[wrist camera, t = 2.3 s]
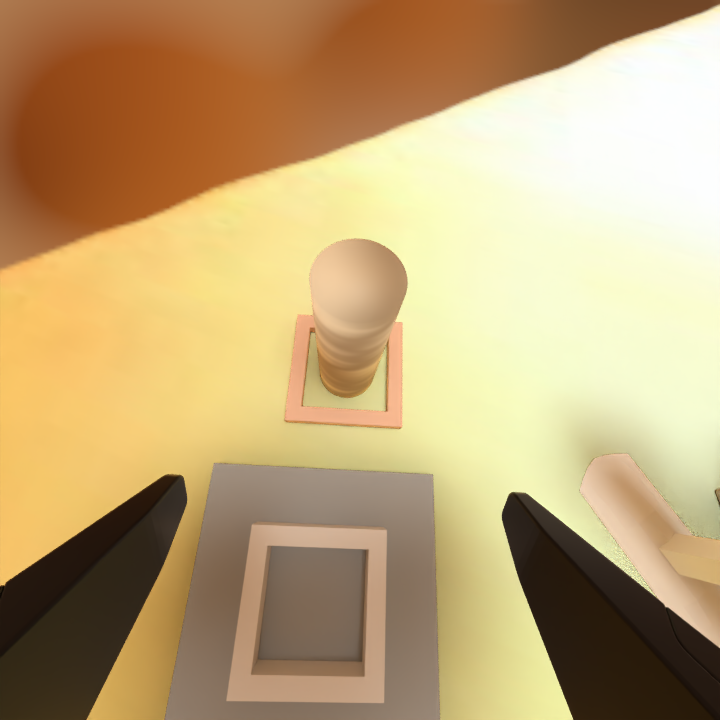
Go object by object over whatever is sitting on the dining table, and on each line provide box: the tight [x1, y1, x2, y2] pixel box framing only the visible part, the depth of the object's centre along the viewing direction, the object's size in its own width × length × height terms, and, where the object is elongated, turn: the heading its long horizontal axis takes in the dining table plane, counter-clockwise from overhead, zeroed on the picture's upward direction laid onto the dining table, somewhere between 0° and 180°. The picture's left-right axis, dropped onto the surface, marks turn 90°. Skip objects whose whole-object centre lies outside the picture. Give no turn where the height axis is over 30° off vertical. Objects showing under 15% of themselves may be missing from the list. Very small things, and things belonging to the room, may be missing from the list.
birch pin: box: [309, 239, 408, 398], centre depth 19 cm, size 4×4×12 cm
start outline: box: [285, 314, 402, 429], centre depth 24 cm, size 8×8×1 cm
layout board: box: [165, 463, 440, 720], centre depth 19 cm, size 14×14×2 cm
